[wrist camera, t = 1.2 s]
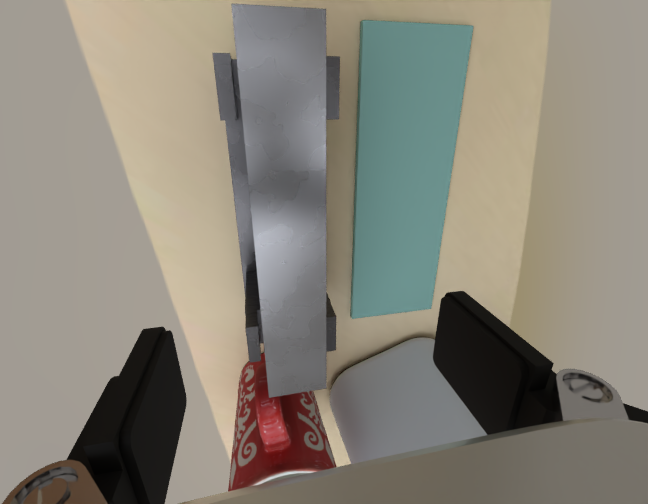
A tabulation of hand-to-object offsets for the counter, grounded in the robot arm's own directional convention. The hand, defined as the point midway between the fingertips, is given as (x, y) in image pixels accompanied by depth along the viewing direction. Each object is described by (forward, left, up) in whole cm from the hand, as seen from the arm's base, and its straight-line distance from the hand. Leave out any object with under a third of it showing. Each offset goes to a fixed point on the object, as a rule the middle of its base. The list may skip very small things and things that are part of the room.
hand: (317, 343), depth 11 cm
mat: (0, +12, -19) cm, 22 cm away
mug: (+18, -1, -19) cm, 26 cm away
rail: (0, 0, -12) cm, 12 cm away
